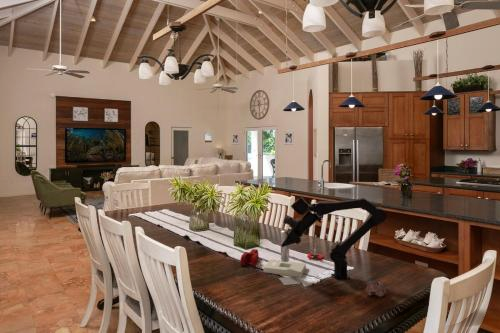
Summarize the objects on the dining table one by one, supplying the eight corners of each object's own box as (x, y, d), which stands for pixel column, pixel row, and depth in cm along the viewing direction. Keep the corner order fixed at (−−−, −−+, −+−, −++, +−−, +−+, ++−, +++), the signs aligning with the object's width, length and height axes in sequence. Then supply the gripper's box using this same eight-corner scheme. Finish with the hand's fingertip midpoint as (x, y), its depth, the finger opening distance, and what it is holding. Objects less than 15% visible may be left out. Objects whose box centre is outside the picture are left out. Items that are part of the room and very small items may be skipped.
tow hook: (307, 255, 195) (307, 259, 186) (307, 231, 194) (307, 235, 185) (322, 255, 193) (323, 260, 184) (323, 232, 193) (323, 236, 184)
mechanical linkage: (254, 268, 174) (254, 258, 174) (240, 266, 176) (240, 256, 176) (262, 257, 189) (262, 248, 189) (249, 256, 191) (249, 247, 191)
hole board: (305, 268, 173) (305, 263, 172) (301, 277, 161) (301, 271, 161) (270, 264, 178) (270, 259, 178) (263, 272, 167) (263, 267, 167)
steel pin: (289, 262, 164) (289, 232, 163) (280, 261, 164) (280, 232, 163) (289, 259, 167) (289, 230, 166) (280, 259, 168) (281, 230, 167)
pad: (301, 283, 154) (301, 283, 154) (284, 285, 152) (284, 284, 152) (295, 276, 162) (295, 276, 162) (278, 278, 160) (278, 278, 160)
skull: (375, 287, 150) (375, 273, 150) (393, 292, 145) (393, 278, 144) (361, 296, 142) (361, 281, 141) (380, 302, 136) (380, 286, 136)
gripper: (293, 206, 173) (271, 227, 175) (293, 213, 154) (268, 237, 157) (310, 222, 172) (287, 244, 174) (311, 232, 154) (285, 256, 156)
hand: (282, 244), depth 165 cm, fingers closed on steel pin, 4 cm apart
